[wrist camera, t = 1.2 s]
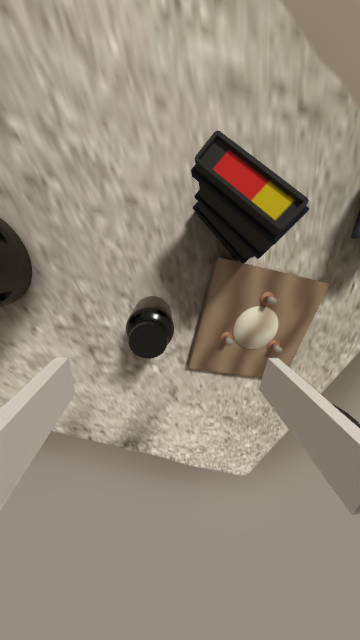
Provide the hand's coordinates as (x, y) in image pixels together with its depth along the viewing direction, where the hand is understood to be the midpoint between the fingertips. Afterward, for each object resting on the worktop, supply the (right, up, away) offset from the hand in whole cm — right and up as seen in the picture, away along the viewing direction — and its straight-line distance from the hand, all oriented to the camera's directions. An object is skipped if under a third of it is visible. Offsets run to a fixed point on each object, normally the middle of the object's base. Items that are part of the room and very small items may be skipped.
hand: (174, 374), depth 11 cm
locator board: (+15, +3, +23) cm, 27 cm away
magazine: (+7, +19, +16) cm, 26 cm away
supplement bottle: (-5, +5, +20) cm, 21 cm away
